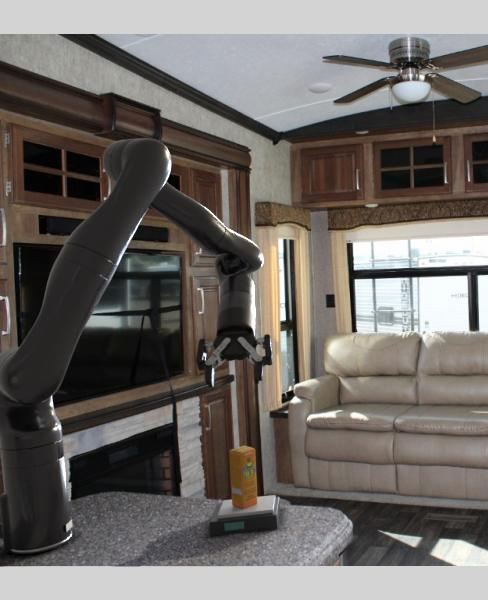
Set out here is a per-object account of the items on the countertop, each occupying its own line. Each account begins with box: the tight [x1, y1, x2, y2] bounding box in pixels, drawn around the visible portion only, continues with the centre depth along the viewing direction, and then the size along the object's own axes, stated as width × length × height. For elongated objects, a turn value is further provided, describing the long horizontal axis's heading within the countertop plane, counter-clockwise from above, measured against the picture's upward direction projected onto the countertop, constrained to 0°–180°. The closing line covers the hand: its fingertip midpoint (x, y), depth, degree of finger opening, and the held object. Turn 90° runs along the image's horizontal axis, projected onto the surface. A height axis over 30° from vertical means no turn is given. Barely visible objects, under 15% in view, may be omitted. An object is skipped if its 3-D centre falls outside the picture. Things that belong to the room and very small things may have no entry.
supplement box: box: [228, 445, 258, 509], centre depth 116 cm, size 3×3×10 cm
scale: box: [209, 494, 281, 537], centre depth 116 cm, size 11×9×3 cm
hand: (233, 383), depth 126 cm, fingers open, 8 cm apart
